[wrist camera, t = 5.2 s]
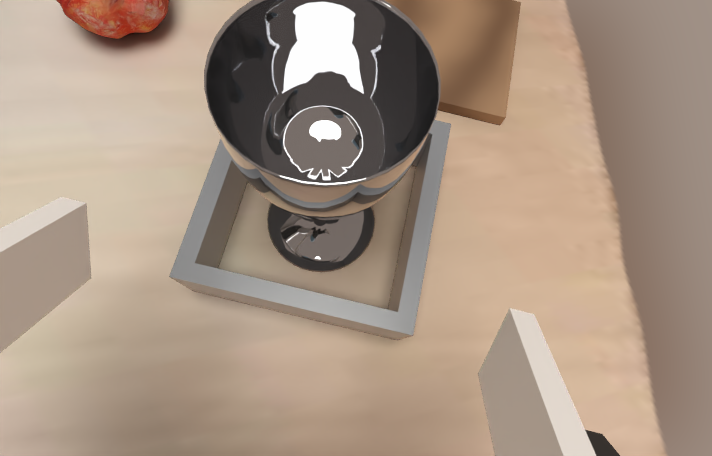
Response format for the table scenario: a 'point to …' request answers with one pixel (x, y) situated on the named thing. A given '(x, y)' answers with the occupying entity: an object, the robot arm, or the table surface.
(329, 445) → the table surface
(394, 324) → the square frame
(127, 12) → the pomegranate
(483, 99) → the board
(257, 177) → the wine glass
